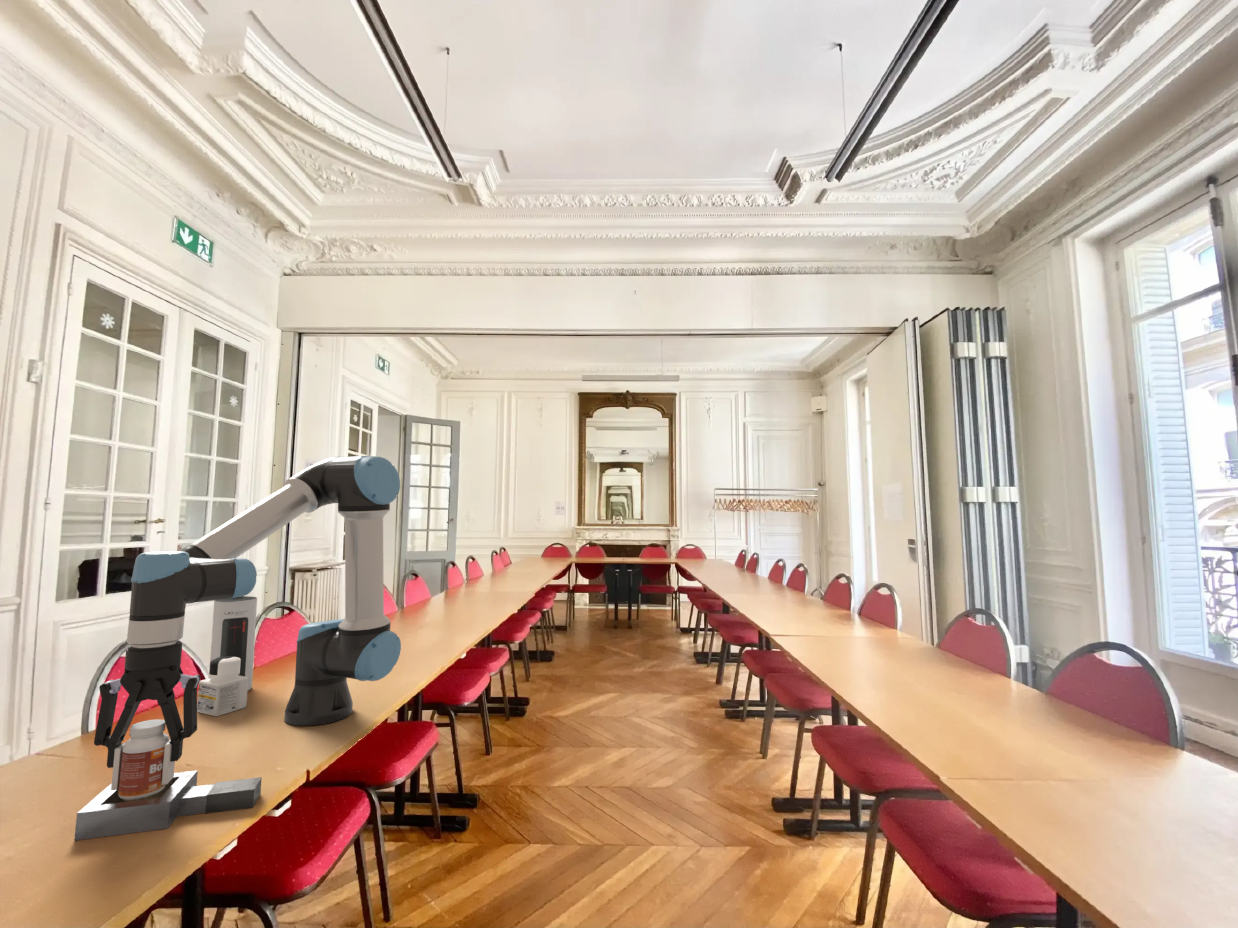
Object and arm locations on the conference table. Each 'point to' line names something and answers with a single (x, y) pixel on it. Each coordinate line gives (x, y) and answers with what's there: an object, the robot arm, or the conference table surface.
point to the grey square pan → (163, 805)
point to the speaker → (235, 632)
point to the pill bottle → (143, 760)
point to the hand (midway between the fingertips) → (143, 783)
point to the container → (223, 687)
